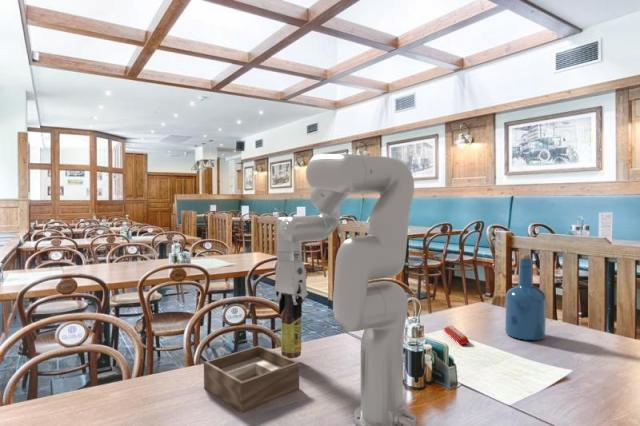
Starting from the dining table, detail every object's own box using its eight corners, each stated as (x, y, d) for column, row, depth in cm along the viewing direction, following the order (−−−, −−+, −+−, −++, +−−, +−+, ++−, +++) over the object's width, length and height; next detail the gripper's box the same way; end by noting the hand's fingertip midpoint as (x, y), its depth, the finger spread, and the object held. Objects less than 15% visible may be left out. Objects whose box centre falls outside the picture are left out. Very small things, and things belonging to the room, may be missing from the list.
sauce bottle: (298, 360, 124) (298, 294, 124) (278, 358, 125) (278, 293, 125) (303, 352, 131) (303, 289, 130) (284, 351, 132) (284, 288, 131)
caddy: (299, 388, 111) (299, 362, 110) (241, 412, 98) (241, 383, 98) (259, 368, 123) (259, 345, 123) (204, 387, 111) (203, 362, 111)
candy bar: (442, 332, 158) (442, 324, 158) (452, 332, 158) (452, 324, 158) (460, 347, 142) (460, 338, 142) (470, 346, 142) (470, 338, 142)
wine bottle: (496, 333, 156) (498, 253, 155) (521, 328, 161) (523, 251, 160) (529, 344, 143) (530, 258, 142) (554, 339, 149) (556, 255, 148)
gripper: (317, 257, 124) (318, 318, 124) (281, 253, 137) (282, 308, 137) (298, 260, 119) (299, 323, 119) (262, 255, 131) (263, 312, 132)
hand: (290, 314), depth 128 cm, fingers closed on sauce bottle, 5 cm apart
